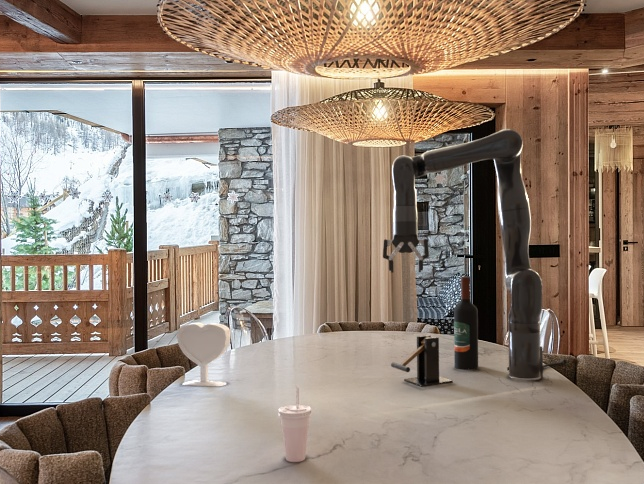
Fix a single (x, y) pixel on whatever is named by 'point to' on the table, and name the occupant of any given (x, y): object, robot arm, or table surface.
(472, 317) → the wine bottle
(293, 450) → the smoothie
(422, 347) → the lever
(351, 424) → the table surface
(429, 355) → the bracket
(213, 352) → the heart sculpture
